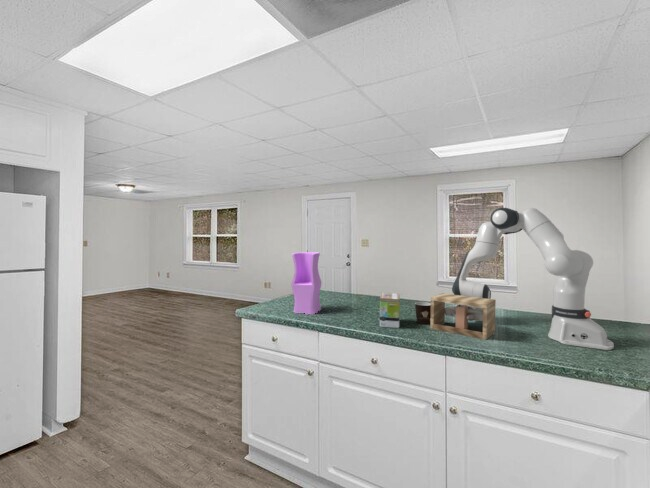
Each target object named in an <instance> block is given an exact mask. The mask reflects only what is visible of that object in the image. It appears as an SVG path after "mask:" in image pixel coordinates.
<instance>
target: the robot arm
mask: <svg viewBox="0 0 650 488" xmlns="http://www.w3.org/2000/svg"><path fill="white" fill-rule="evenodd" d="M522 230H523V231H524V232H525V234H526V235H527V236H528V238H530V240H531V242H533V243H534V245H535V246H536V247H537V249H538V250H539V251H540V254H541V255H542V257H543V260H544V266H545V267H544V268H545V269H546V271H548V273H549V274H551V275H554V276H557V277H558V278H557V281H556V283H555V285H554V286H553V291H552V292H553V294H552V295H553V298H552V306H551V313H550V315H551V318H552V319H551V322H550V323H551V325H550V329H549V331H548V335H547V337H548V338H549V339H552V340H554V341H556V342H559V343H561V344H562V345H568V346H575V347H583V348H590V349H597V350H605V351H610V350H613V349H615V344H614V342H613V341H611V340H610V339H608V334H607V333H606V330H605V329H604V327H602V326H601V325H600V324H598V323H597V322H595V321H594V320H593V319H591V316H592V312H591V311H590V310H588V309H586V308H585V299H586V298H585V296H586V286H587V283H588V279H589V276H590V273H591V272H590V271H591V269H592V268H593V266H594V259H593V257H592V256H591V255H590V254H589V253H587V252H585V251H582V250H580V249H574V250H572V249H571V248H570V247H569V246H568V244H567V243H566V241H565V237H564V234H563V233H562V232H561V231H560V230H559V228H558V227H556V225H555V224H554V223H553V222H552V221H551V220H550V219H549V218H548V217H547V216H546V215H545V214H544V213H543V212H541V211H540V210H538V209H537V208H533V207H531V208H526V209H525V210H523V211H522V212H521V211H520V212H518V210H514V209H511V208H508V207H498V208H496V209H495V210H493V211H492V212H491V215H490V220H489V221H486V222H485V221H484V222H483V223H481V224H480V226H479V228H478V232H477V234H476V238H475V243H474V246H473V247H472V248H471V249H470V250H468V251H467V252H466V253H465V256H464V258H463V260H462V263H461V265H460V268H459V270H458V273H457V275H456V277H455V280H454V282H453V284H452V287H451V292H452V294H453V295H462V296H470V297H478V298H486V299H492V298H491V297H492V292H491V289H490V288H489V286H488V285H487V284H486V283H485V284H484V283H481V282H474V281H471V280H467V278H468V277H467V276H468V274H469V272H470V269H471V267H472V265H474V264H476V263H478V262H483V261H488V260H491V259H492V258H495V256H496V255H497V254H498V251H499V248H500V241H501V237H502V235H509V234H510V235H511V234H516V233H519V232H521V231H522ZM466 306H468V305H466ZM445 316H448V317H453V318H456V306H454V305H453V306H452V305H451V306H447V307H446V306H445ZM465 317H466V318H465V319H468V321H470V322H471V321H480V322H483V308H482V307H475V306H468V315H466V316H465Z"/></svg>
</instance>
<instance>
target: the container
mask: <svg viewBox="0 0 650 488" xmlns="http://www.w3.org/2000/svg"><path fill="white" fill-rule="evenodd" d="M320 255H321V252H318V251H316V252H315V251H313V252H312V251H311V252H310V251H309V252H307V251H305V252H303V251H302V252H301V251H299V252H298V251H297V252H294V253H291V257H292V260H293V264H294V274H293V278H292V282H291V290H292V293H293V298H294V307H293V312H295V313H305V314H304V315H308V314H314V315H316V314H317V313H319V312H320V311H321V310H322V306H321V301H320V296H321V295H320V294H321V287H322V280H321V277H320V273H319V260H320V259H319V258H320ZM318 311H319V312H318ZM295 313H294V314H295ZM315 313H316V314H315Z"/></svg>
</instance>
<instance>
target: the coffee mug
mask: <svg viewBox="0 0 650 488" xmlns="http://www.w3.org/2000/svg"><path fill="white" fill-rule="evenodd" d="M414 307H415V315H416V317H415V318H416V323H417V324H419V325H429V324H431V302H428V301H427V302H426V301H418V302H415V303H414Z"/></svg>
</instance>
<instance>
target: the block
mask: <svg viewBox="0 0 650 488" xmlns="http://www.w3.org/2000/svg"><path fill="white" fill-rule="evenodd" d="M455 307H456V317H455V327H456V328H461V329H467V330H469V327H468V326H469V320H468V319H465V318H466V317H465V316H466V315H468V306H466V305H461V304H456V306H455Z"/></svg>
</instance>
